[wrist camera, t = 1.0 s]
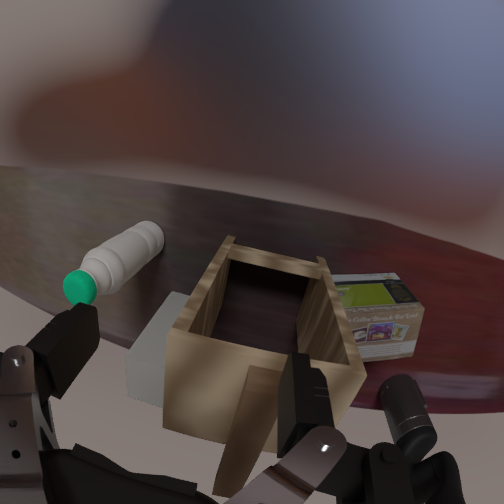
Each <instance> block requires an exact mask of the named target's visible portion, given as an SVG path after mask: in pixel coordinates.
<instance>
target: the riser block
mask: <svg viewBox="0 0 504 504" xmlns="http://www.w3.org/2000/svg"><path fill="white" fill-rule="evenodd" d="M189 297H190V296H188V295H184V294H180V293H177V292H173V291H172V292H171V293H170V294H169V296H168V297H167V298H166V300H165V301H164V303H163V304H162V305H161V307H160V308H159V309H158V311H157V312H156V313H155V315H154V316H153V318H152V319H151V320H150V322H149V323H148V324H147V326H146V327H145V329H144V330H143V331H142V333H141V334H140V336H139V337H138V338H137V340H136V341H135V343H134V344H133V345H132V347H131V348H130V350H129V351H128V353H127V354H126V356H125V362H126V381H127V393H128V396H129V397H132V398H134V399H137V400H140V401H144V402H146V403H149V404H152V405H155V406H158V407H161V408H163V397H164V376H165V359H166V345H167V334H168V333H169V331H170V329H171V327H172V326H173V324H174V322H175V321H176V319H177V317H178V316H179V314H180V312H181V311H182V309H183V307H184V306H185V304H186V302H187V301H188V299H189Z"/></svg>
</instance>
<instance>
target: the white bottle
mask: <svg viewBox="0 0 504 504" xmlns="http://www.w3.org/2000/svg"><path fill="white" fill-rule="evenodd" d="M163 246H164V234H163V232H162V230H161V229H160V227H159V226H158V225H157V224H155V223H153V222H151V221H142V222H139V223H137V224H136V225H134V226H133V227H131V228H129V229H127V230H125V231H124V232H123V233H121V234H119V235H117V236H115V237H113V238H111V239H109V240H108V241H106V242H104V243H103V244H101V245H100V246H99V247H97V248H94V249H92V250H90V251H89V252H88V253H87V254H86V255H85V257H84V259H83V261H82V264H81V266H80V269H78V270H75V271H72V272H71V273H69V274H68V275H67V276H66V278H65V279H64V283H63V290H64V293H65V295H66V298H67V299H68V300H69V302H71V304H73V305H74V306H75V305H76V304H77V303H79V302H82V303H85V304H88V305H90V304H91V303H92V302H93V301H94V300H95V298H96V297H97V295H109V294H112V293H115V292H116V291H118V290H119V289H120V288H121V286H122V285H123V284H124V283H125V282H127V281H128V280H129V279H130V278H131V277H133V276H134V275H135V274H136V273H137V272H138V271H139V270H140V269H141V268H142V267H143V266H144V265H145V264H147V263H148V262H149V261H150V260H151V259H152V258H153V257H155V256H156V255H157V254H159V253H160V251H161V250H162V248H163Z"/></svg>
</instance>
